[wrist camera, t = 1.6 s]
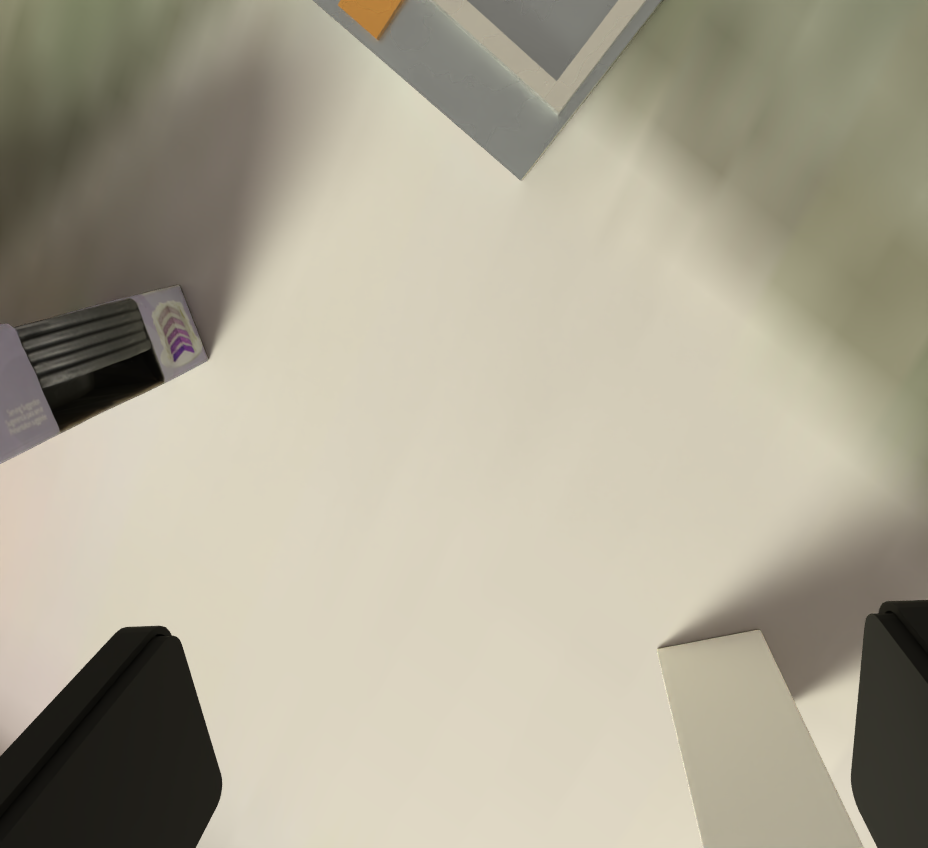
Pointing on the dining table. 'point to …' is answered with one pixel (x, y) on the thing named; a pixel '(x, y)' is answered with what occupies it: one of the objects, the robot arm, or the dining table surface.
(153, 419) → the dining table surface
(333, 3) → the breaker panel
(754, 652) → the milk
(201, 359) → the cake pan box
